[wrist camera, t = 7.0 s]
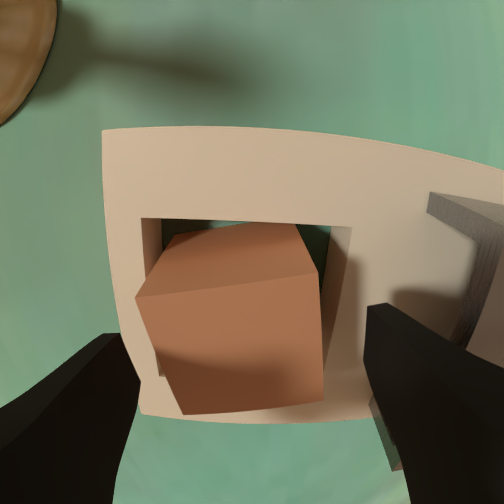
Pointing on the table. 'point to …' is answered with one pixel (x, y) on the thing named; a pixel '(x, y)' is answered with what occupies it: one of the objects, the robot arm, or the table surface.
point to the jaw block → (236, 319)
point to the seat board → (297, 212)
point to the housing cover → (469, 290)
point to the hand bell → (23, 48)
